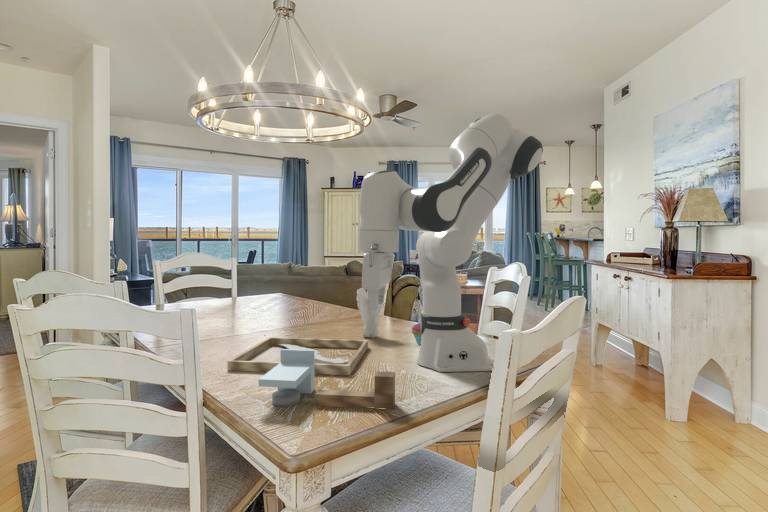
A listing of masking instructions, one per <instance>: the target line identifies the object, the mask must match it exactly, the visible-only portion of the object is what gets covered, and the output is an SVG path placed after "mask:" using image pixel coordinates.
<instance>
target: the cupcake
mask: <svg viewBox="0 0 768 512" xmlns="http://www.w3.org/2000/svg"><path fill="white" fill-rule="evenodd" d="M418 309H419V310H418V312H419V320H420V321H419V322H418V323H416V324H414V325H413V326H412V327H411V333H412V334H413V336H414V338H415V342H416V344H418V345H420V344H421V337H422V333H421V314H422V310H421V308H420V307H418Z"/></svg>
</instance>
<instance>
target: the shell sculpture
mask: <svg viewBox="0 0 768 512" xmlns="http://www.w3.org/2000/svg"><path fill="white" fill-rule="evenodd" d="M356 294H357V295H356V298H355V299H356V302H357V303H356V305H357V309H358V311H359V314H360V317H361V320H362V322H363V325H364V328H363V331H362V333H361V334H362V336H363V337H364V338H375V337H377V336H379V334H380V333H379V329H378V326H379V321H380V318H381V317H380V316H381V313H382V307H383V304H378V309H377V310H370V309H369V300H368V291H367V290H364V289H363V288H362V287H360V288H359V289H358V288H357V290H356Z"/></svg>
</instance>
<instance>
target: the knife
mask: <svg viewBox="0 0 768 512" xmlns="http://www.w3.org/2000/svg"><path fill="white" fill-rule="evenodd" d="M278 345H281V347H285V349H301V350H314V363H316V364H343V365H347V364H348V362H349V361H350V360H348V359H344V358H342V357H337V358H329V357H324V356H323V355H322V354H320V353H321V352H320V351H318V350H317V349H312V348H309V347H304V346H295V345H289V344H278Z"/></svg>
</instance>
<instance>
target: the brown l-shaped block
mask: <svg viewBox="0 0 768 512" xmlns="http://www.w3.org/2000/svg"><path fill="white" fill-rule="evenodd" d="M373 377H374V384H373V385H374V388H373V389H374V391H359V390H358V391H357V390H339V389H335V390H334V389H318V390H317V391H316V393H314V406H316V407H319V406H320V407H337V408H354V407H374V408H386V409H393V408H395V405H396V372H395V371H376V372H375V374H374V376H373ZM374 408H373V409H374ZM393 410H394V409H393Z"/></svg>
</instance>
